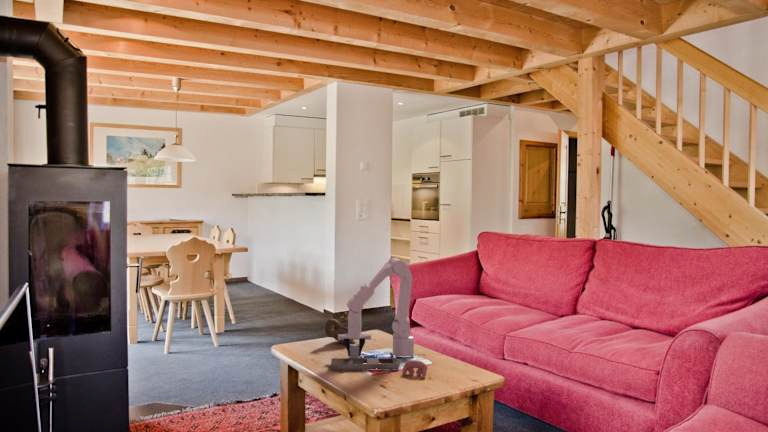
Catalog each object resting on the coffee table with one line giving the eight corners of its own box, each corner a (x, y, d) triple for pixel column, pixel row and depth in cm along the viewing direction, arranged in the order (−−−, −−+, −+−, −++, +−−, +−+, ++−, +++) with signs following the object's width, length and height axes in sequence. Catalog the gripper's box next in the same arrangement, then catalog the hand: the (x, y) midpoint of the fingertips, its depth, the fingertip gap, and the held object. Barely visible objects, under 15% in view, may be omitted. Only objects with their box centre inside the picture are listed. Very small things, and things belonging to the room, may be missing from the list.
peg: (358, 357, 247) (358, 344, 247) (358, 360, 243) (359, 346, 243) (349, 357, 247) (349, 344, 246) (349, 360, 243) (350, 346, 242)
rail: (396, 363, 240) (396, 357, 239) (398, 370, 232) (398, 364, 232) (331, 364, 237) (331, 358, 237) (331, 370, 229) (331, 364, 229)
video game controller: (426, 380, 225) (429, 362, 228) (424, 378, 221) (426, 360, 224) (403, 376, 228) (406, 359, 231) (400, 375, 224) (403, 357, 227)
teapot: (354, 336, 280) (355, 307, 279) (369, 342, 271) (369, 311, 270) (319, 343, 266) (319, 312, 265) (332, 349, 257) (333, 317, 256)
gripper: (370, 322, 249) (370, 352, 250) (338, 322, 247) (337, 352, 248) (371, 327, 242) (371, 357, 243) (338, 327, 240) (337, 357, 241)
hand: (354, 355), depth 245 cm, fingers closed on peg, 4 cm apart
